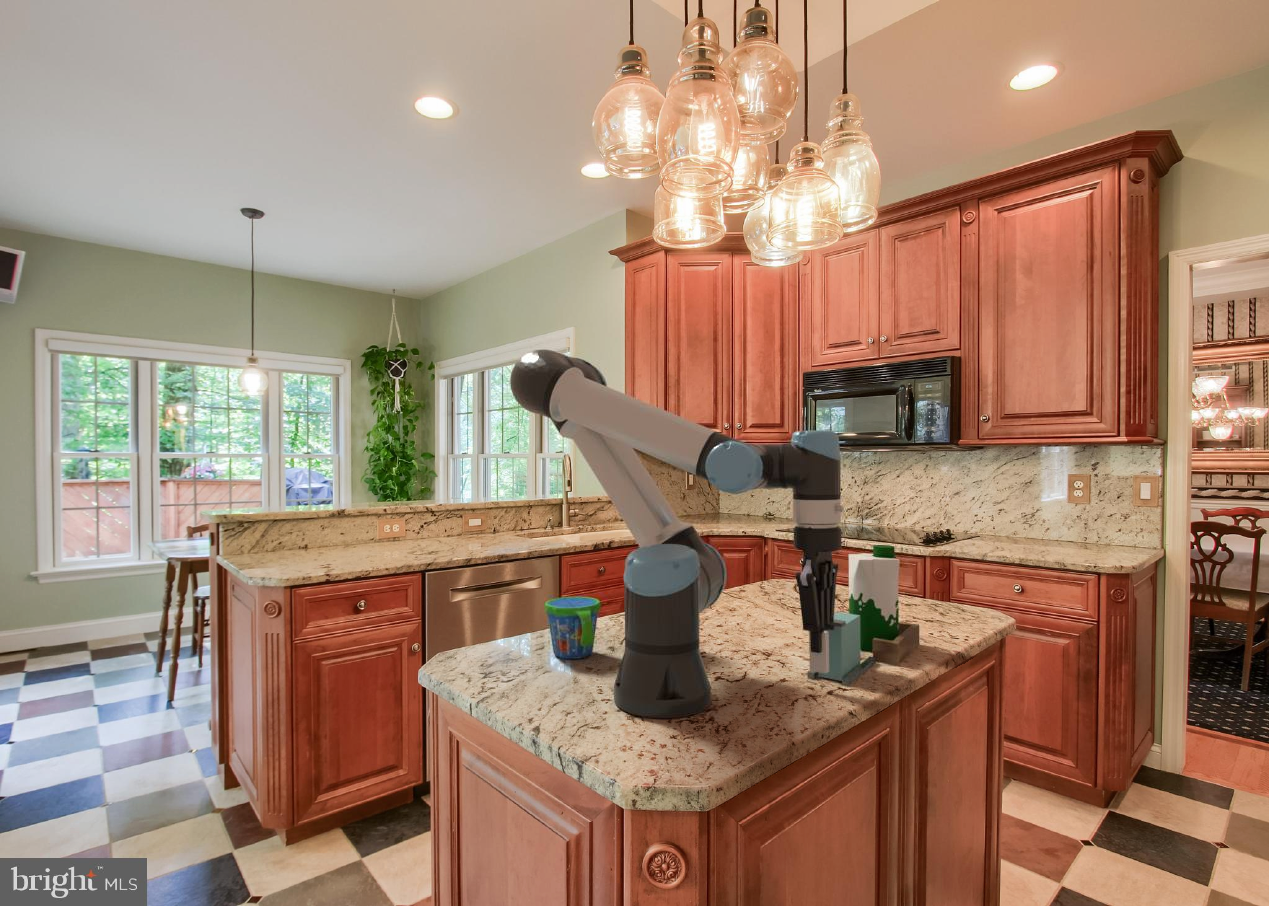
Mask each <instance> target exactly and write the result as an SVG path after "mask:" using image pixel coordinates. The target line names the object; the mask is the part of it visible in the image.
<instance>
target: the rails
mask: <svg viewBox="0 0 1269 906" xmlns="http://www.w3.org/2000/svg"><path fill="white" fill-rule="evenodd" d="M876 664H877V662H876V657H873V656H871V655H870V656H868V657H867V658H866V659H865V660H863V661H861V664H860V665H859V666H857V667H856V668H855V669H854V670H852V671H851V672H850V673H849V674H848V675H846V676H845V677H844V678H843V679H842V681H841V685H842V686H846V687H851V686H852V685H853V684H855V683H856V682H857V680H859V679H860V678H861V677H862V676H864V675H865V674H866V673H867V672H868V671H869V670H870V669H871V668H873V666H874V665H876ZM806 673H807V675H806V677H807V678H808V679H813V680H815V679H817V678H818V677H820V676H819V672H815V671H810V669H809V670H807V672H806Z"/></svg>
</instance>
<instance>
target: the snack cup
mask: <svg viewBox="0 0 1269 906" xmlns="http://www.w3.org/2000/svg"><path fill="white" fill-rule="evenodd" d="M601 605H602V604H601V602H600V600H599V599H598V598H594V597H589V596H563V597H557V598H552V599H549V600H547V601H546V602H545V604H544V610H545V612H546V614H547V618H548V620H547V621H548V628H549V633H550V639H551V646H552V650H553V654H554V656H555V657H557V658H560V659H564V660H565V659H566V660H567V659H569V660H571V659H572V660H575V659H583V658H586V657H589V656H590V655H591V654H593V652H594V651H593V650H594V643H595V637H596V629H597V621H598V613H599V611H600V610H601V608H602V606H601Z"/></svg>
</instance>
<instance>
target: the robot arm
mask: <svg viewBox="0 0 1269 906" xmlns="http://www.w3.org/2000/svg"><path fill="white" fill-rule="evenodd" d="M509 379H510V382H509V383H510V390H511V393H512V395H513V398H514V399H515V400H516V402H517V403H518V404H519V405H520V406H521V408H523V409H524V410H526V411H528V412H530V413H533V414H537V415H541V416H543V417H546V418H548V419H550V420H551V422H552V423H553V425H554V427H555V429H556V430H557V432H558V433H559V436H561V437H562V438H564V439H565V438H566V439H569V440H572V441H573V442H574V444H575V445H576V447H577V448H578V450H579V452H580V453H581V455H582V456H583V458H584V460H585V462H586V463H587V465H588V466H589V468H590V469H591V471H592V472H593V474H594V476H595V478H596V479H597V480H598V482H599V484H600V485H601V487H602V488H603V490H604V492H605V493H606V495H607V496H608V497H607V498H609V500H610V502H611V503H612V504H613V506H614V508H615V509H616V511H617V513H618V514H619V516H620V517H621V519H622V521H623V522H624V524H625V525H626V527H627V529H628V530H629V532H630V533H631V535H632V536H633V538H634V540H635V541H636V543H637V545H638V548H636V549H634V550H633V551H631V552H630V553H629V554H628V555H627V556H626V558H625V563H624V564H625V565H624V566H625V567H624V573H623V582H624V587H623V588H624V653H623V656H622V659H621V660H620V661H621V662H620V665H619V668H618V672H617V674H616V678H615V681H614V684H613V685H614V687H613V702H614V704H615V705H616V706H617V708H620V709H621V710H622V711H624V712H627V713H629V714H632V715H635V716H639V717H645V718H653V719H676V718H684V717H688V716H693V715H696V714H699V713H700V712H703V711H704V710H707V708H708V707H709V706H710V705H711V703H712V685H711V682H710V681H709V676H708V673H707V670H706V668H705V664H704V660H703V657H702V654H701V651H700V613H702V612H703V611H705V610H707V609H708V608H709V607H711V606H713V605H714V604H715V603H716V602H717V601H718V599H719V597H721V594H722V593H723V591H724V589H725V586H726V583H727V567H726V563H725V560H724V558H723V556H722V555H721V554H720V553H719V551H718V550H717V549H716V548H714V546H712V545H710V544H708V543H706V542H704V541H703V539H702V537H701V536H700V535H699V533H698V531H697V529H696V528H695V527H694V526H693V524H692V523H687V522H683V521H681V520H680V519H679V518H678V516H677V515H676V513H675V512H674V511H675V510H673V509H672V506H670V504H669V502H668V500H667V499H666V498H665V496H664V495H663V493H662V491H661V489H659V487H658V485H657V484H656V482H655V481H654V479H653V477H652V476H651V475H650V473H649V472H648V470H647V468H646V466H645V465H644V464H643V461H641V459H640V458H639V456H638V454H637V452H636V450H637V451H639V452H642V453H643V454H644V453H645V454H646V455H649V456H650V457H653V458H656V459H658V460H660V461H662V462H664V463H666V464H669V465H671V466H674V467H676V468H678V469H681V470H682V471H686V472H687V473H690V474H692V475H695V476H697V477H698V478H701V479H703V480H705V481H707V482H709V483H710V484H711V485H713V487H715V488H716V489H717V490H719V491H720V492H722V493H723V492H724V493H728V494H733V495H738V494H743V493H746V492H748V491H753V490H759V489H760V490H762V489H764V490H767V489H783V490H784V489H786V490H787V489H792V522H793V523H794V524H796V526H794V528H793V530H792V531H793V547H794V549H795V550H798V551H801V552H802V553H803V554H802V562H801V572H799V571H798V572H796V573H795V581H796V583H797V587H798V596H799V603H800V614H801V621H802V629H803V631H806V632H808V641H809V642H808V644H809V646H808V647H809V649H808V651H809V670H810V671H815V672H820V673H825V674H826V673H828V672H829V631H827V629H828V630H834V628H835V626H833V625H830V623H833V622H834V614H835V605H836V593H837V592H836V587H837V576H838V573H839V572H838V571H839V564H838V563H834V561H833V554H832V552H838V551H840V550H842V543H843V542H842V528H841V527H840V526H838V525H839V524H841V521H842V512H843V511H844V508H845V507H844V506H843V505H841V499H842V498H841V494H842V492H841V483H842V482H841V475H842V474H841V473H842V472H841V463H842V462H841V461H842V460H841V451H840V450H841V449H840V437H839V435H838V434H837V433H836V432H835V431H833V430H825V429H824V430H822V429H819V430H801V431H800V430H797V431H795V432H793V433H792V434H791V440H790V442H786V443H750V442H749V443H748V442H743V441H742V440H738V439H736V438H734V437H731V436H729V435H727V434H723V433H721V432H718V431H716V430H714V429H711V428H709V427H707V426H705V425H701V424H699V423H697V422H694V421H691V420H689V419H686V418H684V417H682V416H679V415H677V414H674V413H673V412H671V411H668V410H665V409H662V408H660V407H657V406H655V405H653V404H650V403H648V402H645V401H643V400H640V399H638V398H635V397H634V396H632V395H631V396H630V395H629V394H625V393H623V392H621V391H618V390H617V389H614V388H610V387H609V386H608V384H607V381H606V378H605V377H604V375H603V373H602V372H601V371H600V370H599V369H598V368H597V367H596V366H594V364H592V363H591V362H588V361H587V360H585V359H582V358H579V357H574V356H572V357H571V356H569V355H565V354H563V353H559V352H557V351H554V350H552V349H535V350H534V349H533V350H532V351H528V352H527V353H526V354H523V355H522V356H521V357H520V358H519V359H518V360H517V362H516V363H515V364H514V366H513V367H512V371H511V373H510V378H509Z"/></svg>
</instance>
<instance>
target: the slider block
mask: <svg viewBox="0 0 1269 906" xmlns="http://www.w3.org/2000/svg"><path fill="white" fill-rule="evenodd" d="M830 625H833V626H835V628H834V630H828V629H827V631H829V672H828V673H826V674H825V673H820V672H819V676H818V677H821V678H825V679H830V680H835V681H838V682H840V681H841V682H842V679H843V678H844V677H845V676H846V675H848V674H849V673H850V672H851V671H852V670H854V669H855V668H856V667H857V666H859V665H860V664H861V663H862V661H861V650H860V615H854V614H849V613H847V612H840V611H838V612H836V613H834V622H833V623H830Z"/></svg>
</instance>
